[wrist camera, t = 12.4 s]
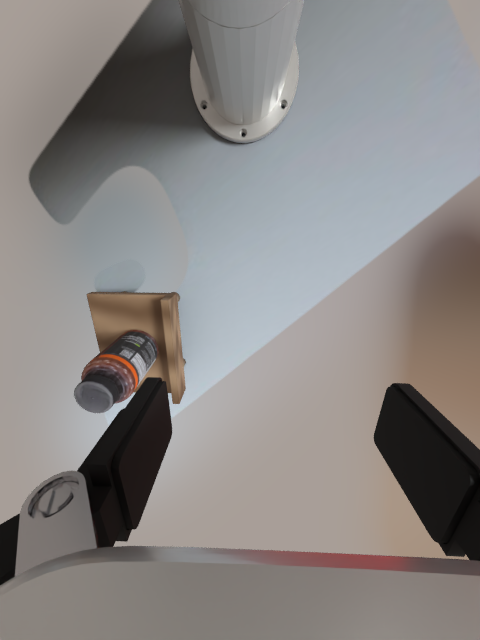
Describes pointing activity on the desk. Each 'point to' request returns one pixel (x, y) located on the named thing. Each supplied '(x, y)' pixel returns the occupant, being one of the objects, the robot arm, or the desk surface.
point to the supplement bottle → (116, 371)
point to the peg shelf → (151, 317)
